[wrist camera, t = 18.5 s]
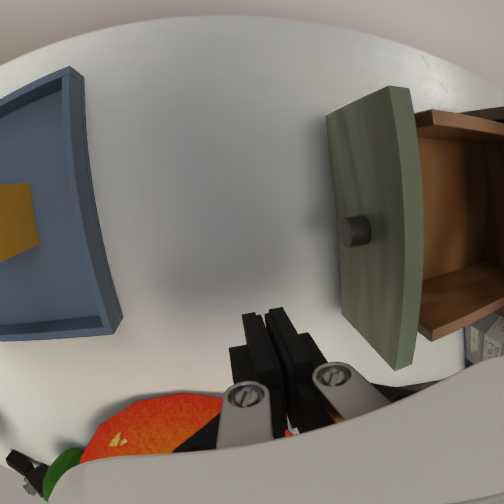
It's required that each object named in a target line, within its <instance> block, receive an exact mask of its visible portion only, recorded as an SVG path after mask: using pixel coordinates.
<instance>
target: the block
mask: <svg viewBox="0 0 504 504" xmlns="http://www.w3.org/2000/svg"><path fill="white" fill-rule="evenodd" d="M39 244H40V241H39V236H38V231H37V226H36V221H35V216H34V210H33V204H32V198H31V191H30V183H17V184H5V185H0V263H1V262H3V261H5V260H7V259H9V258H11V257H13V256H15V255H17V254H19V253H22V252H24V251H26V250H28V249H30V248H32V247H35V246H37V245H39Z"/></svg>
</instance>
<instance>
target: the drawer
mask: <svg viewBox="0 0 504 504" xmlns="http://www.w3.org/2000/svg"><path fill="white" fill-rule="evenodd" d="M325 118H326V125H327V131H328V138H329V145H330V153H331V161H332V169H333V178H334V187H335V197H336V208H337V220H338V234H339V250H340V270H341V305H342V315H343V316H344V317H345V318H346V319H347V320H348V322H349V323H350V324H351V325H352V326H353V327H354V328H355V329H356V330H357V331H358V332H359V333H360V334H361V335H362V336H363V337H364V339H365V340H366V341H367V342H368V343H369V344H370V345H371V346H372V347H373V348H374V349H375V350H376V351H377V353H378V354H379V355H380V356H381V357H382V358H383V359H384V360H385V361H386V362H387V363H388V364H389V366H390V367H391V368H392V369H393V370H394V371H396V370H398V369H401V368H403V367H406V366H408V365H411V364H412V360H413V355H414V349H415V343H416V336H417V331H418V332H419V333H420V334H422V335H423V336H424V337H425V338H427V339H428V340H429V341H430V342H432V341H435V340H437V339H439V338H441V337H444V336H446V335H448V334H450V333H452V332H455V331H457V330H459V329H461V328H463V327H465V326H467V325H469V324H471V323H473V322H475V321H477V320H479V319H481V318H483V317H485V316H487V315H488V314H490V313H492V312H494V311H496V310H498V309H499V308H501V307H503V306H504V123H500V122H496V121H492V120H487V119H483V118H478V117H474V116H469V115H464V114H458V113H452V112H447V111H440V110H433V109H431V110H426V111H422V112H418V113H414V111H413V105H412V100H411V95H410V90H409V88H403V87H395V86H387V87H385V88H382V89H380V90H378V91H376V92H374V93H371V94H369V95H367V96H365V97H363V98H361V99H359V100H356V101H354V102H352V103H350V104H348V105H346V106H344V107H342V108H340V109H338V110H336V111H334V112H332V113H330V114H328V115H326V116H325Z"/></svg>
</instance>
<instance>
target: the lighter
mask: <svg viewBox="0 0 504 504" xmlns="http://www.w3.org/2000/svg"><path fill="white" fill-rule="evenodd" d="M6 461H7V464H8V465H9V466H10V467H12V468H13V469H14V470H16V471H17V472H19V473H20V474H22V475H23V476H25V478H24V481H26V482H27V484H26V485H24V486H23V487H24V488H25V490H26V491H27V492H28V494H31V495H33V496H34V495H35V491H36V493H37V494H38V495H39V496H40V497H42V498H43V497H44V495H43V479H44V477H45V475H46V472H47V470H48V468H47V467H46V466H45V465H44V464H42V465H40V466H38V467H36V468H34V466H33V464H32V463H31V462H30V460H29V459H28V458H26V457H25V456H24V455H22V454H20V453H19V452H16V451H14V450H12V451H11V452H10V454H9V455H8V456H7V458H6ZM29 486H30V487H29Z"/></svg>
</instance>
